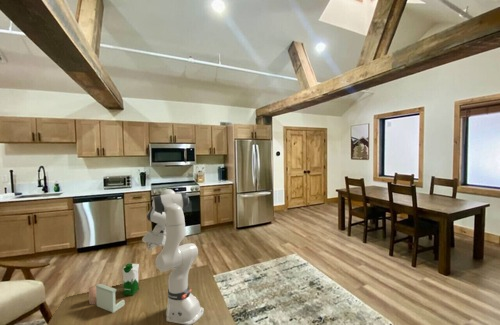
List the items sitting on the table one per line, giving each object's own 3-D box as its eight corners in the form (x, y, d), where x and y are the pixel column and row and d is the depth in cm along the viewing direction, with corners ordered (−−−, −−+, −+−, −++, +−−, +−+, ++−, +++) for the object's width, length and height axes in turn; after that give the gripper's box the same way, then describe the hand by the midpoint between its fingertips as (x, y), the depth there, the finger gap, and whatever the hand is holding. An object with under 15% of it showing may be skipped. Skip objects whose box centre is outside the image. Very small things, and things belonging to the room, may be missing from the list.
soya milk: (120, 295, 150) (120, 266, 149) (129, 287, 159) (128, 259, 158) (133, 296, 149) (132, 267, 148) (141, 288, 158) (140, 260, 157)
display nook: (124, 304, 141) (124, 284, 140) (113, 312, 134) (112, 291, 133) (108, 298, 147) (107, 279, 146) (96, 306, 140) (95, 285, 139)
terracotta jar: (102, 299, 146) (102, 286, 145) (93, 305, 140) (92, 291, 140) (96, 297, 148) (96, 284, 148) (87, 302, 143) (86, 289, 142)
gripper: (146, 228, 177) (135, 245, 169) (166, 232, 169) (156, 250, 161) (150, 232, 182) (141, 248, 173) (170, 235, 174) (161, 253, 165)
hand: (148, 249), depth 167 cm, fingers closed
